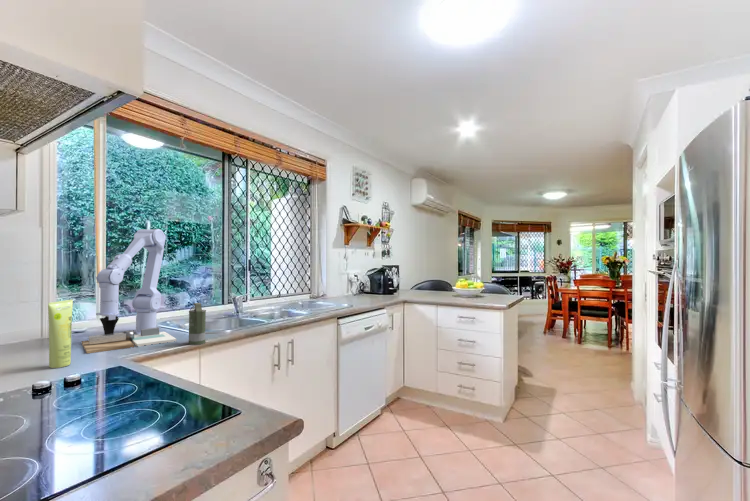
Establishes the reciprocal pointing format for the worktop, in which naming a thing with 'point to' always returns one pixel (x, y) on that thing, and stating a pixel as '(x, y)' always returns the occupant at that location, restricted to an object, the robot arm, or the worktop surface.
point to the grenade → (197, 325)
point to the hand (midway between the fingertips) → (108, 336)
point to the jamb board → (106, 346)
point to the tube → (60, 333)
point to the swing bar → (111, 337)
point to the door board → (152, 337)
